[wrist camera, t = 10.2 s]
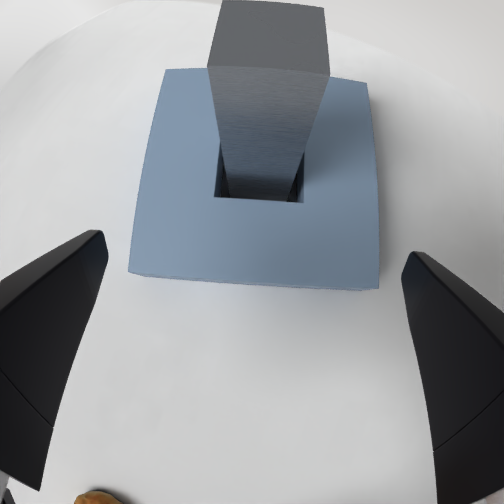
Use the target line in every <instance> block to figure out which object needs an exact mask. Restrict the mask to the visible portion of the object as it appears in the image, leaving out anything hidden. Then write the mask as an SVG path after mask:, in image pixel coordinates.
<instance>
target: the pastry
mask: <svg viewBox="0 0 504 504" xmlns="http://www.w3.org/2000/svg"><path fill="white" fill-rule="evenodd" d="M74 504H123V503H121V502H119V501H118V500H117V499H115V498H114V497H113V496H112V495H110V494H107V493H105V492H101V491H89V492H87V493H85V494H82V495H79V496H78V497H77V498H76V500H75V502H74Z"/></svg>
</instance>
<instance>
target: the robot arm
mask: <svg viewBox="0 0 504 504" xmlns="http://www.w3.org/2000/svg"><path fill="white" fill-rule="evenodd" d="M107 263H108V250H107V246H106V241H105V237H104V234H103V232H102V231H101V230H88V231H86V232H84V233H82V234H80V235H79V236H77V237H75V238H73V239H71V240H69V241H68V242H66V243H64V244H62V245H60V246H58V247H57V248H55V249H53V250H51V251H50V252H48V253H46V254H44V255H43V256H41V257H39V258H37V259H36V260H34V261H32V262H31V263H29V264H27V265H26V266H24V267H22V268H21V269H19V270H17V271H16V272H14V273H12V274H11V275H9V276H7V277H6V278H4V279H3V280H1V282H0V504H15V502H14V499H13V497H12V495H11V492H10V490H9V489H8V488H6V487H7V483H8V480H9V477H11V478H13V479H15V480H17V481H18V482H20V483H22V484H24V485H26V486H28V487H30V488H32V489H34V490H37V491H40V487H41V483H42V477H43V472H44V467H45V463H46V458H47V453H48V449H49V445H50V441H51V437H52V433H53V427H54V424H55V420H56V417H57V413H58V410H59V406H60V403H61V399H62V396H63V392H64V389H65V386H66V383H67V380H68V376H69V373H70V370H71V367H72V364H73V361H74V358H75V356H76V353H77V350H78V347H79V344H80V341H81V339H82V336H83V333H84V331H85V328H86V325H87V323H88V320H89V318H90V315H91V312H92V310H93V307H94V305H95V302H96V299H97V295H98V292H99V289H100V285H101V282H102V279H103V275H104V272H105V269H106V266H107ZM401 281H402V287H403V293H404V298H405V304H406V310H407V317H408V322H409V327H410V331H411V335H412V339H413V343H414V347H415V352H416V356H417V360H418V365H419V370H420V374H421V379H422V384H423V389H424V395H425V400H426V406H427V412H428V418H429V424H430V431H431V438H432V446H433V451H434V452H433V456H434V465H435V476H436V488H437V504H474V503H476V502H479V501H481V500H483V499H484V501H485V504H504V313H503V312H502V311H501V310H499V309H498V308H497V307H496V306H494V305H493V304H492V303H491V302H490V301H488V300H487V299H486V298H485V297H483V296H482V295H481V294H479V293H478V292H477V291H476V290H474V289H473V288H472V287H470V286H469V285H468V284H467V283H465V282H464V281H463V280H461V279H460V278H459V277H457V276H456V275H455V274H453V273H452V272H451V271H449V270H448V269H447V268H445V267H444V266H442V265H441V264H440V263H438V262H437V261H436V260H434V259H433V258H431V257H430V256H429V255H427V254H426V253H424V252H417V251H413V252H411V253H410V254H409V256H408V259H407V262H406V264H405V267H404V269H403V272H402V276H401Z"/></svg>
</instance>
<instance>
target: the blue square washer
mask: <svg viewBox="0 0 504 504" xmlns="http://www.w3.org/2000/svg"><path fill="white" fill-rule="evenodd" d="M223 164H224V160H223V154H222V149H221V143H220V137H219V132H218V126H217V120H216V115H215V109H214V103H213V97H212V92H211V86H210V80H209V74H208V68H189V69H166V71H165V74H164V78H163V82H162V85H161V89H160V93H159V97H158V101H157V105H156V109H155V113H154V117H153V121H152V126H151V130H150V135H149V139H148V144H147V149H146V154H145V159H144V164H143V169H142V175H141V180H140V186H139V192H138V198H137V204H136V211H135V217H134V225H133V232H132V240H131V248H130V257H129V266H128V272H130V273H133V274H137V275H141V276H145V277H157V278H168V279H180V280H192V281H205V282H218V283H232V284H247V285H262V286H279V287H296V288H315V289H336V290H359V291H362V290H370V289H378V288H379V208H378V187H377V171H376V158H375V147H374V136H373V127H372V119H371V111H370V103H369V96H368V89H367V83H364V82H359V81H353V80H347V79H341V78H335V77H329V80H328V83H327V86H326V89H325V92H324V95H323V98H322V101H321V104H320V107H319V110H318V112H317V115H316V118H315V121H314V124H313V127H312V130H311V133H310V136H309V138H308V141H307V144H306V147H305V150H304V153H303V156H302V158H301V161H300V164H299V167H298V175H297V203H294V202H281V201H267V200H252V199H236V198H220V194H221V184H222V174H223Z"/></svg>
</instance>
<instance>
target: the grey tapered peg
mask: <svg viewBox="0 0 504 504" xmlns="http://www.w3.org/2000/svg"><path fill="white" fill-rule="evenodd" d="M207 68H208V74H209V80H210V86H211V92H212V97H213V103H214V109H215V115H216V120H217V126H218V132H219V137H220V143H221V149H222V154H223V160H224V165H225V171H226V176H227V182H228V188H229V193H230V198H236V199H252V200H267V201H281V202H286V201H287V198H288V195H289V192H290V190H291V187H292V184H293V181H294V178H295V176H296V173H297V170H298V167H299V164H300V161H301V158H302V156H303V153H304V150H305V147H306V144H307V141H308V138H309V136H310V133H311V130H312V127H313V124H314V121H315V118H316V115H317V112H318V110H319V107H320V104H321V101H322V98H323V95H324V92H325V89H326V86H327V83H328V80H329V77H330V66H329V54H328V44H327V34H326V26H325V16H324V8H322V7H315V6H308V5H300V4H291V3H280V2H267V1H247V0H223V1H222V5H221V9H220V13H219V17H218V21H217V25H216V29H215V33H214V37H213V42H212V46H211V50H210V55H209V59H208V64H207Z"/></svg>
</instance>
